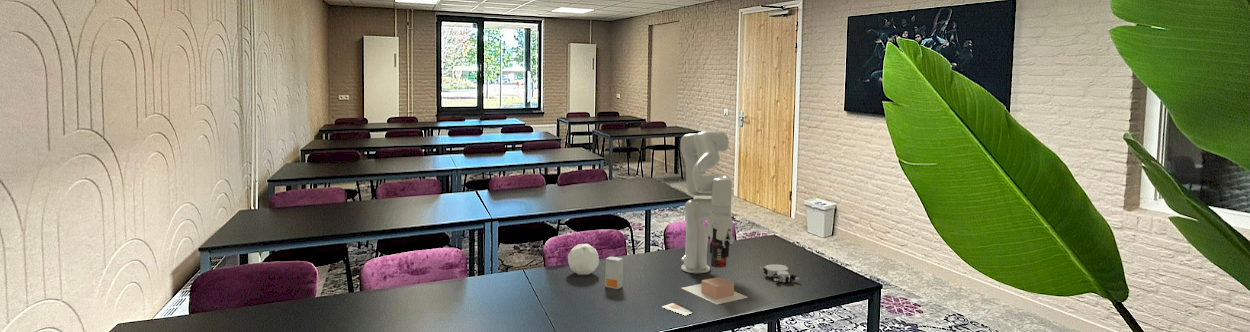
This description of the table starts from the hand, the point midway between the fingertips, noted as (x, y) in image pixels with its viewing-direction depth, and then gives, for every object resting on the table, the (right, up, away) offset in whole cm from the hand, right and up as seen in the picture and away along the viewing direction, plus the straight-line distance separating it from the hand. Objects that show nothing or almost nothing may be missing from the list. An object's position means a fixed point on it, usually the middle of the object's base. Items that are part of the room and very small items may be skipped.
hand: (719, 254), depth 282 cm
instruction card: (-16, -19, -12) cm, 27 cm away
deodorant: (0, -4, +1) cm, 5 cm away
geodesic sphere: (-54, -12, +28) cm, 62 cm away
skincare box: (-41, -15, +12) cm, 45 cm away
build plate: (-2, -16, +4) cm, 17 cm away
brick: (0, -16, +3) cm, 16 cm away
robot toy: (+29, -14, +27) cm, 42 cm away
